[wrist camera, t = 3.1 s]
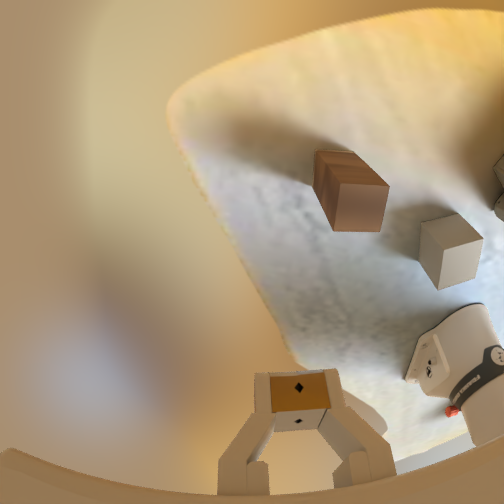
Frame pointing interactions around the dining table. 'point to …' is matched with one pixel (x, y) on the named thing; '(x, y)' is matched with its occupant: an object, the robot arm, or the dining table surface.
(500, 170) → the digital clock
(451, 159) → the dining table surface
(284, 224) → the dining table surface
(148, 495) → the robot arm
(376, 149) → the dining table surface
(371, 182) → the walnut post
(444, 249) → the grey cube
